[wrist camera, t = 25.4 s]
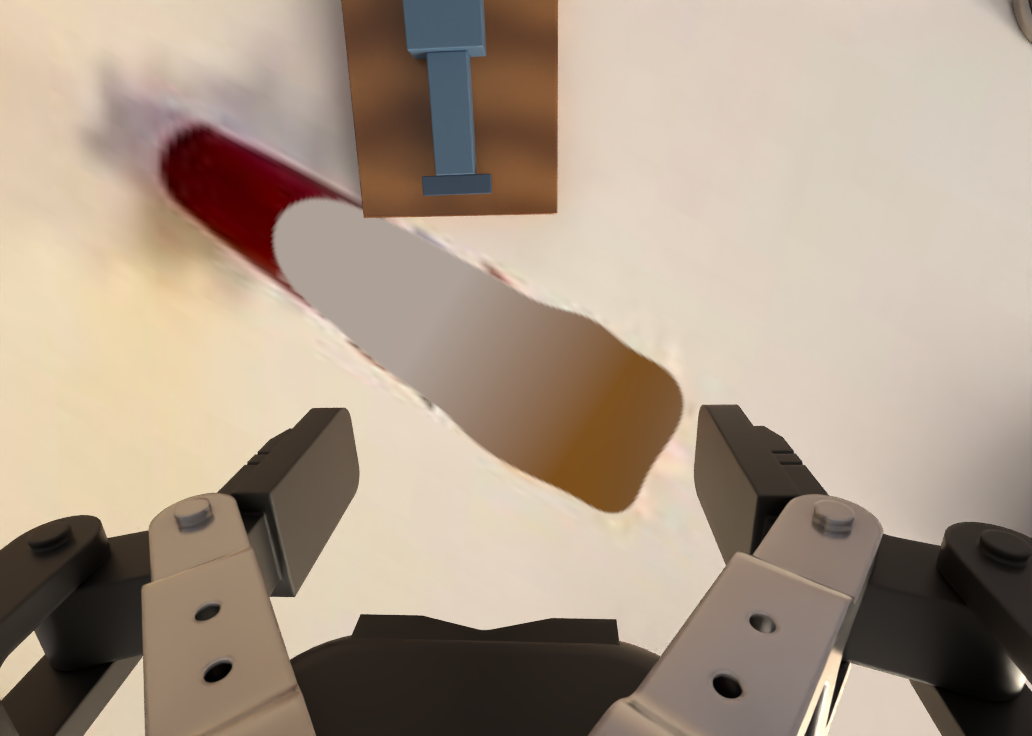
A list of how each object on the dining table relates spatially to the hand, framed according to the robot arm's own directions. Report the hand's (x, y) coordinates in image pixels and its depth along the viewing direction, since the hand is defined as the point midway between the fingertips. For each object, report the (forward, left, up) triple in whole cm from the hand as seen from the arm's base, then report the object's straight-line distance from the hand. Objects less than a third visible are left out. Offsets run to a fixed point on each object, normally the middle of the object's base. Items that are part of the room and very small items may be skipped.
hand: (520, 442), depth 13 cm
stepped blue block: (-4, -14, -27) cm, 31 cm away
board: (-5, -14, -28) cm, 32 cm away
